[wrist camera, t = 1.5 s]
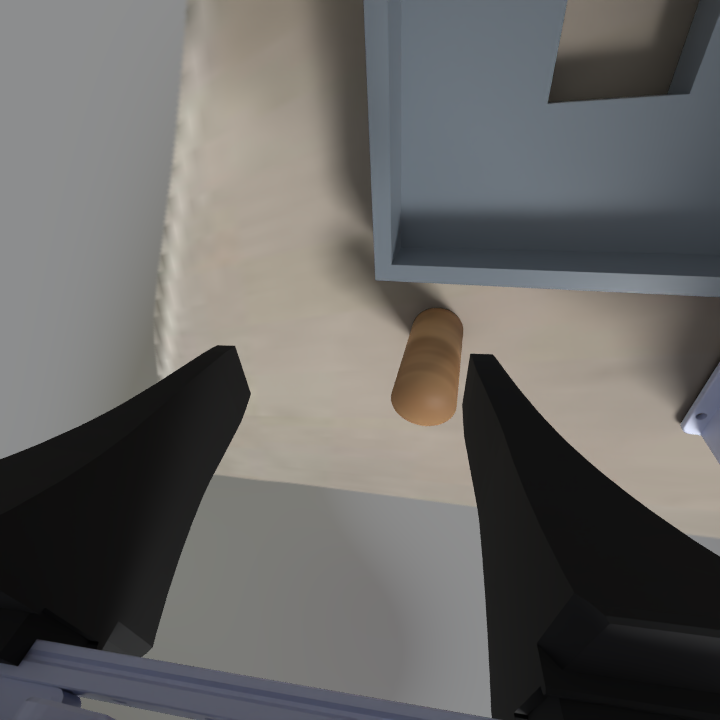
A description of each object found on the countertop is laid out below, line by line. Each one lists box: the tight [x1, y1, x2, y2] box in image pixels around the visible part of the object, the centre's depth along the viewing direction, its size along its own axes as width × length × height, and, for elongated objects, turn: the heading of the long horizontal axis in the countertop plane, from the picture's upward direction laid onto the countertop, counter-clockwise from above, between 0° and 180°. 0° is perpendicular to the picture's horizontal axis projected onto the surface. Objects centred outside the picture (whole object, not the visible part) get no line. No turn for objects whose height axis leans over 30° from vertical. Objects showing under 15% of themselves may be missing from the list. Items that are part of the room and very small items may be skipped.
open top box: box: [363, 0, 720, 297], centre depth 12 cm, size 18×18×4 cm
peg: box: [391, 308, 463, 426], centre depth 20 cm, size 3×3×7 cm
